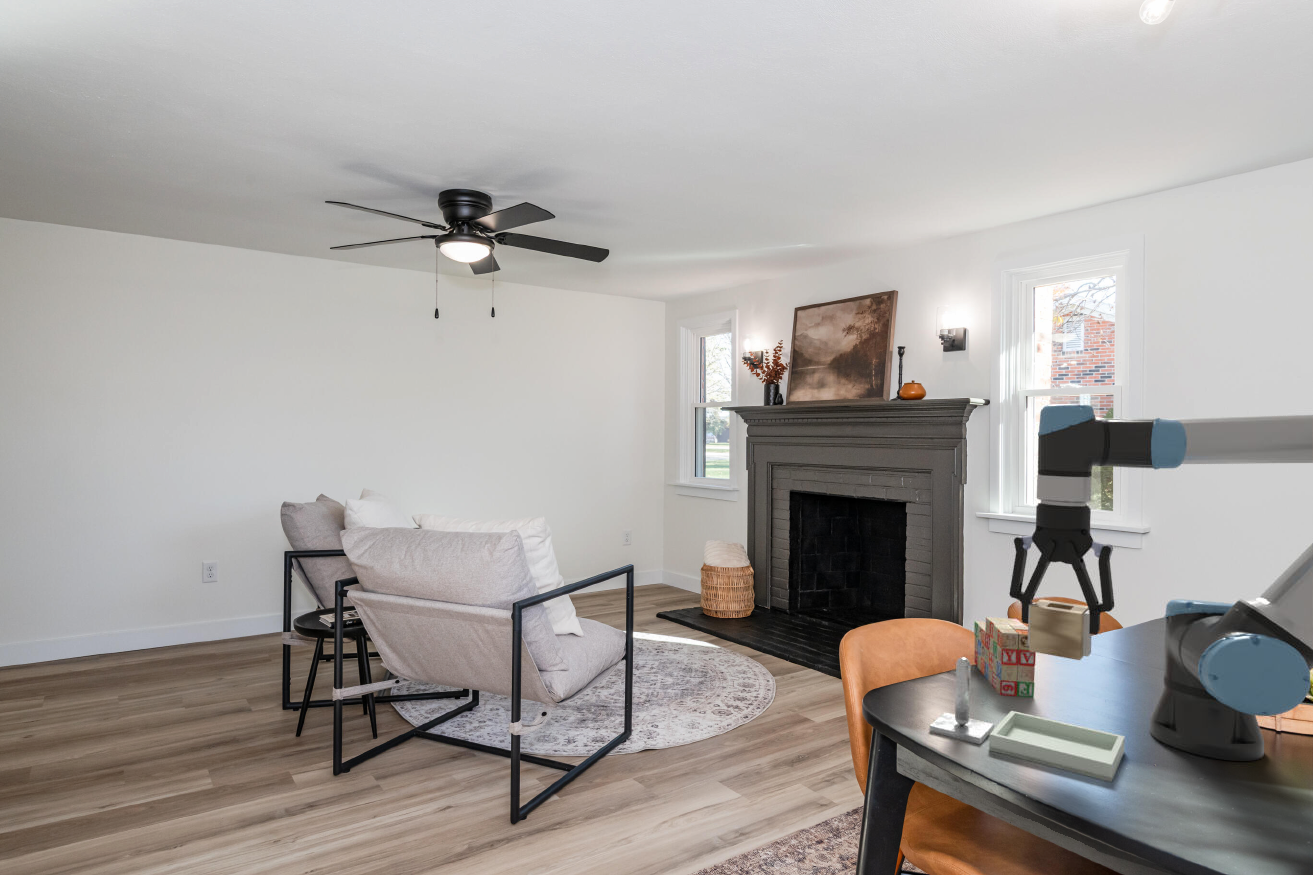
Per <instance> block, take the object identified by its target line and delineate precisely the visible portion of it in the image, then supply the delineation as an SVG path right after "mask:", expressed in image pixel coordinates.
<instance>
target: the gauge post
mask: <svg viewBox="0 0 1313 875" xmlns="http://www.w3.org/2000/svg"><path fill="white" fill-rule="evenodd" d="M955 667H956V668H955V671H956V672H955V697H954V701H955V702H954V704H955V705H954V714H953V713H949V712H944V713H943V714H941V715H940V716H939V717H938V718H936V720H934V721H933V722H932V723H930V725H929V733H930V732H931V733H934V734H938V735H942V736H946V737H948V738H949V737H950V738H954V739H956V740H957V739H958V740H961V741H965V742H969V743H972V744H976V745H981V744H982V743H983V742H984V741H985V740H987V738H989V735H990V733H991V732H992V731H993V730H994V729H995V724H994V723H991V722H988V721H987V722H986V721H982V720H978V719H974V718H970V708H971V707H970V705H971V704H970V703H971V702H970V700H971V698H970V697H971V661H970V660H969V659H968V658H966V657H959V658H957V660H956V666H955Z"/></svg>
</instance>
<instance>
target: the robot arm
mask: <svg viewBox="0 0 1313 875" xmlns="http://www.w3.org/2000/svg"><path fill="white" fill-rule="evenodd" d="M1094 411H1095V410H1094V408H1093V406H1092V405H1089V404H1075V403H1074V404H1073V403H1072V404H1071V403H1068V404H1062V403H1060V404H1049V405H1045V406H1044V407H1043V408H1041V410H1040V414H1039V415H1040V416H1039V426H1038V427H1039V428H1038V432H1037V443H1038V444H1037V447H1038V448H1037V449H1038V450H1037V479H1036V499H1037V500H1039V501H1040V502H1039V503H1037V504H1036V510H1035V511H1036V512H1035V530H1034V532H1033V534H1032V535H1029V536H1023V535H1019V536H1017V537H1014V539H1013V543H1014V547H1015V557H1014V563H1013V569H1012V574H1011V581H1010V589H1009V593H1008V594H1009V597H1010V598H1012V599H1016V600H1017V601H1020V603H1021V618H1020V619H1021V623H1023V624H1027V627H1028V646H1029V645H1030V613H1031V606H1032V605H1033V604H1035V603H1036V602H1033V600H1034V598H1035V596H1036V593H1037V591H1038V588H1040V585H1041V583H1042V580H1043V578H1044V576H1045V575H1046V572H1047V570H1048V567H1049V566H1050V564H1051V563H1064V564H1067V565H1071V566H1072V569H1073V572H1074V573H1075V576H1076V578H1077V581H1078V583H1079V587H1080V589H1081V592H1082V595H1083V597H1084V599H1085V603H1086V606H1088V608H1089V610H1087V611H1086V612H1085V613H1084V625H1083V657H1088V658H1089V656H1090V655H1091V653H1092V635H1093V636H1094V635H1095V636H1097V635H1098V634H1099V632H1100V631H1101V630H1100V628H1101V613H1106V612H1111V611H1112V610H1113V609H1114V608H1115V598H1114V589H1113V579H1112V578H1113V577H1112V570H1111V561H1110V560H1111V557H1112V554H1113V551H1114V547H1113V545H1112V544H1109V543H1107V544H1104V543H1100V542H1096V541H1094V539H1093V537H1092V534H1091V514H1092V513H1091V507H1090V506H1089V505H1087V503H1090V502H1091V501H1092V475H1093V467H1096V466H1097V467H1111V468H1112V467H1114V468H1115V467H1116V468H1131V469H1132V468H1134V469H1135V468H1137V469H1153V470H1159V469H1177V468H1179V467H1180V466H1181V465H1220V464H1221V465H1222V464H1223V465H1229V464H1230V465H1231V464H1232V465H1233V464H1237V465H1238V464H1242V465H1243V464H1244V465H1245V464H1249V465H1250V464H1313V414H1301V415H1300V414H1294V415H1292V414H1291V415H1289V414H1288V415H1262V416H1261V415H1259V416H1233V417H1232V416H1231V417H1230V416H1229V417H1228V416H1226V417H1198V418H1197V417H1195V418H1160V417H1159V418H1158V417H1156V418H1104V417H1096V414H1095V412H1094ZM1032 544H1034V545H1035V546H1036V548H1037V550H1038V551H1039V553H1040V557H1039V559H1038V561H1037V564H1036V567H1035V568H1034V571H1033V572H1032V575H1031V578H1030V579H1029V582H1028V584H1027V586H1026V587H1025V591H1022V590H1023V582H1024V577H1025V571H1026V566H1027V565H1026V564H1027V558H1028V550H1030V549H1031V547H1032ZM1090 549H1092V550H1093V551H1094V556H1095V557H1097V558H1098V572H1099V583H1100V592H1101V602H1099V599H1098V596H1097V594H1096V593H1097V592H1096V591H1095V587H1094V586H1093V582H1092V580H1091V577H1090V575H1089V572H1088V570H1087V567H1086V562H1085V560H1084V556H1085V555H1086V554H1087V553H1088V552H1089V551H1090ZM1163 620H1164V655H1163V656H1164V657H1163V659H1164V660H1163V687H1162V690H1161V693H1160V695H1159V696H1158V697H1159V698H1158V699H1157V702H1156V704H1155V706H1154V707H1153V710H1152V713H1151V716H1150V719H1149V732H1150V734H1151V735H1152V736H1153V737H1154V738H1155V739H1156V740H1158V741H1160V742H1162V743H1163V744H1165V745H1167V746H1170V747H1173V749H1178V750H1180V751H1183V752H1187V753H1190V754H1194V755H1198V756H1201V757H1206V758H1211V759H1217V760H1224V761H1233V762H1234V761H1235V762H1249V761H1256V760H1259V759H1262V758H1263V757H1264V755H1265V740H1264V736H1263V734H1262V731H1261V728H1260V725H1259V722H1258V719H1257V716H1259V717H1271V716H1277V715H1282V714H1285V713H1287V712H1289V711H1291V710H1293V709H1295V708H1297V707H1298V706H1300V704H1301V703H1303V701H1304V700H1305V698H1306V697H1307V696H1308V694H1309V692H1310V690H1311V689H1310V688H1311V685H1312V684H1311V672H1310V671H1311V670H1313V542H1312V543H1311V544H1310V545H1309V546H1308V547H1307V548H1306V549H1305V550H1304V551H1303V552H1302V553H1301V554H1300V555H1299V556H1298V558H1296V559H1295V560H1294V561H1293V562H1292V563H1291V564H1290V566H1288V567H1287V569H1286V570H1284V571H1283V572H1282V573H1281V574H1280V576H1278V578H1277V579H1276V580H1274V582H1273V583H1272V584H1271V585H1270V586H1268V588H1267V589H1265V590H1264V592H1263V593H1262V594H1261V595H1260V596H1258V597H1255V598H1239V599H1238V600H1237V601H1236V602H1235V603H1228V602H1227V603H1226V602H1219V601H1218V602H1217V601H1210V600H1209V601H1207V600H1194V599H1177V598H1176V599H1171V600H1170V601H1168V602H1167V604H1166V606H1165V614H1164V616H1163Z"/></svg>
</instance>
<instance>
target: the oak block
mask: <svg viewBox="0 0 1313 875" xmlns="http://www.w3.org/2000/svg"><path fill="white" fill-rule="evenodd" d="M1034 603H1035V604H1033V605H1032V606H1031V613H1030V645H1029V651H1031V652H1036V653H1037V654H1043V655H1048V656H1055V657H1059V658H1064V659H1069V660H1076V661H1082V660H1081V659H1083V658H1084V656H1083V625H1084V613H1085V612H1086V611H1087V610H1089V608H1088V605H1083V604H1075V603H1067V602H1062V601H1054V600H1047V599H1043V598H1041V599H1039V600H1038V601H1036V602H1034Z"/></svg>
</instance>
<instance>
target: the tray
mask: <svg viewBox="0 0 1313 875" xmlns="http://www.w3.org/2000/svg"><path fill="white" fill-rule="evenodd" d="M988 738H989V742H988V750H989V751H991V752H996V753H999V754H1002V755H1005V756H1006V755H1007V756H1010V757H1014V758H1018V759H1022V760H1025V761H1029V762H1034V763H1038V764H1041V765H1045V766H1049V767H1051V768H1056V769H1060V770H1063V771H1068V772H1072V773H1075V774H1079V775H1083V776H1087V777H1090V778H1095V779H1098V780H1102V781H1106V782H1110V783H1112V781H1113V779H1114V777H1115V775H1116V773H1117V770H1118V767H1119V765H1120V763H1121V762H1122V758H1123V756H1124V754H1125V743H1126V742H1125V740H1126V739H1125V735H1120V734H1116V733H1111V732H1108V731H1104V730H1103V731H1102V730H1098V729H1095V728H1090V727H1086V726H1080V725H1076V724H1071V723H1068V722H1063V721H1059V720H1053V719H1050V718H1045V717H1042V716H1037V715H1032V714H1028V713H1023V712H1018V711H1016V710H1015V711H1013V710H1011V711H1010V712H1009V713H1008V714H1007V715H1006V716H1005V717H1004V718H1003V719H1002V720H1001V721H1000V722H999V723H998V725H997V726H995V727H994V730H993V731H992V732H991V733H990V734H989V736H988Z"/></svg>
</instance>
